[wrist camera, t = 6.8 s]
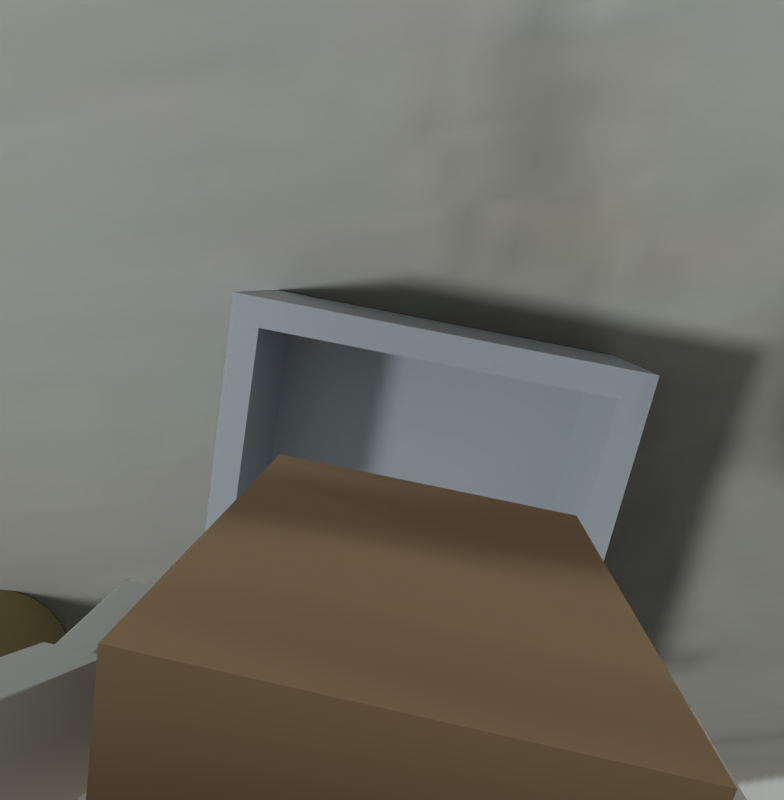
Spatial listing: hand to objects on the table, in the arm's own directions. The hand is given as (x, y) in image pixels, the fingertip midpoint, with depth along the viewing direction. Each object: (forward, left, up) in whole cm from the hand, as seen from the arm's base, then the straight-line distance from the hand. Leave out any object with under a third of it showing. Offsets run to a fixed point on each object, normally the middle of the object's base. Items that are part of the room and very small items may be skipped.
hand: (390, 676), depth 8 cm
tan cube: (0, 0, -2) cm, 2 cm away
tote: (+5, 0, -16) cm, 17 cm away
